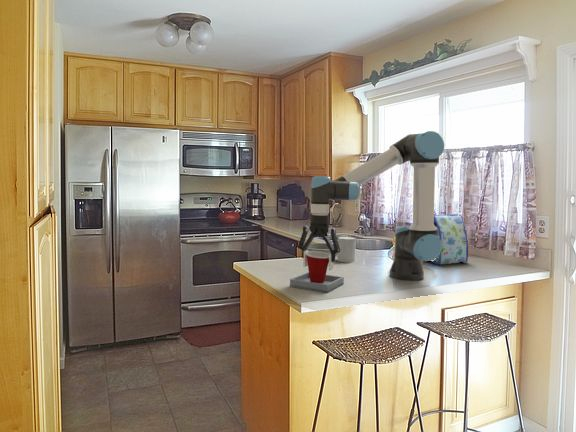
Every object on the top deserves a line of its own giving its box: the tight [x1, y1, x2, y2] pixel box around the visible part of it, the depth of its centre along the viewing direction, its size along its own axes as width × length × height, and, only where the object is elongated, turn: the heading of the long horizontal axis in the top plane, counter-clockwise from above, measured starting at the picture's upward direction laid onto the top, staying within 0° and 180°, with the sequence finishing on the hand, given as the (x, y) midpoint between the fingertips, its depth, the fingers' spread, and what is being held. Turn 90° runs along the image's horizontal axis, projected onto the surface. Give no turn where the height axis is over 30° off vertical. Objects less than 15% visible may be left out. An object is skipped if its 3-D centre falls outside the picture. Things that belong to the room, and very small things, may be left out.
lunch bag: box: [432, 213, 469, 265], centre depth 242 cm, size 22×17×26 cm
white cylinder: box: [336, 236, 357, 263], centre depth 239 cm, size 10×10×12 cm
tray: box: [289, 271, 345, 294], centre depth 184 cm, size 17×17×3 cm
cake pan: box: [303, 242, 338, 256], centre depth 261 cm, size 25×25×4 cm
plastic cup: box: [305, 251, 329, 283], centre depth 184 cm, size 11×11×12 cm
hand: (318, 267), depth 184 cm, fingers closed on plastic cup, 11 cm apart
